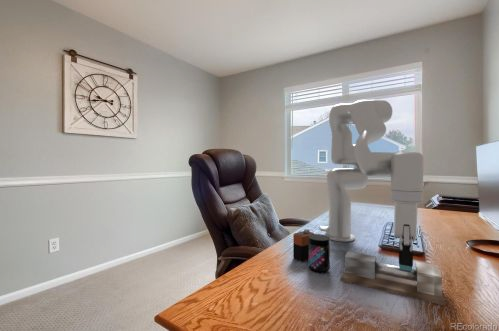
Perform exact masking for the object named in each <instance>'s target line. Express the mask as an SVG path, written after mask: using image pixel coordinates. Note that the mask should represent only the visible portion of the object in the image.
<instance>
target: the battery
mask: <svg viewBox="0 0 499 331" xmlns="http://www.w3.org/2000/svg"><path fill="white" fill-rule="evenodd" d="M312 234H315V233H314V232H311V230H310V229H307V228H305V229H303V230H302V231H301V230H300V231H298V232H295V233H293V235H292V236H293V238H292V239H293V245H292V246H293V250H292V252H293V255H292V256H293V259H294V260H296V261H298V262H301V263H303V262H308V236H309V235H312Z"/></svg>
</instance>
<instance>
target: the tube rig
mask: <svg viewBox="0 0 499 331" xmlns="http://www.w3.org/2000/svg"><path fill="white" fill-rule="evenodd" d="M375 262H377V256H375V255H371V254H366V253H359V252H354V251H349V250H348V251H347V252H346V254H345V256H344V269H343V272H342V274H341V276H340V281H342V282H346V283H349V284H354V285H359V286H363V287H366V288H370V289H375V290H379V291H383V292H387V293H392V294H396V295H400V296H404V297H408V298H412V299H416V300H421V301H425V302H429V303H431V304H432V303H433V304H437V305H441V306H446V303H447V302H446V298H445V295H444V293H443V276H442V274H441V271H440V268H439V266H438V265H437V264H432V263H426V262H425V263H424V262H419V261H415V270H417V282H416V281H411V280H406V279H401V278H397V277H392V276H387V275H383V274H378V273H375Z"/></svg>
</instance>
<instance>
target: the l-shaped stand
mask: <svg viewBox="0 0 499 331" xmlns="http://www.w3.org/2000/svg"><path fill="white" fill-rule="evenodd" d="M403 242H404V241H402V243H403ZM409 243H410V242H409ZM413 246H414V245H413V244H412V251H413ZM402 248H403V246H402ZM399 249H400V240H399V243H398V250H399ZM413 252H414V251H413ZM375 273H378V274H383V275H387V276H392V277H397V278H401V279H406V280H411V281H416V282H417V270H416V269H414V268H413V266H412V267H411V266H405V265H400V264H399V263H398V266H397V265H392V264H387V263H382V262H377V261H376V262H375Z"/></svg>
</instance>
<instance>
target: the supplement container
mask: <svg viewBox="0 0 499 331" xmlns="http://www.w3.org/2000/svg"><path fill="white" fill-rule="evenodd" d="M330 259H331V240H330V237H328V236H326V235H325V234H322V233H314V234H312V235H309V236H308V260H307V265H308V266H307V267H308V269H309V271H311V272H312V273H315V274H326V273H328V272H329V271H330V269H331V268H330V267H331V266H330V264H331V261H330Z"/></svg>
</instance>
